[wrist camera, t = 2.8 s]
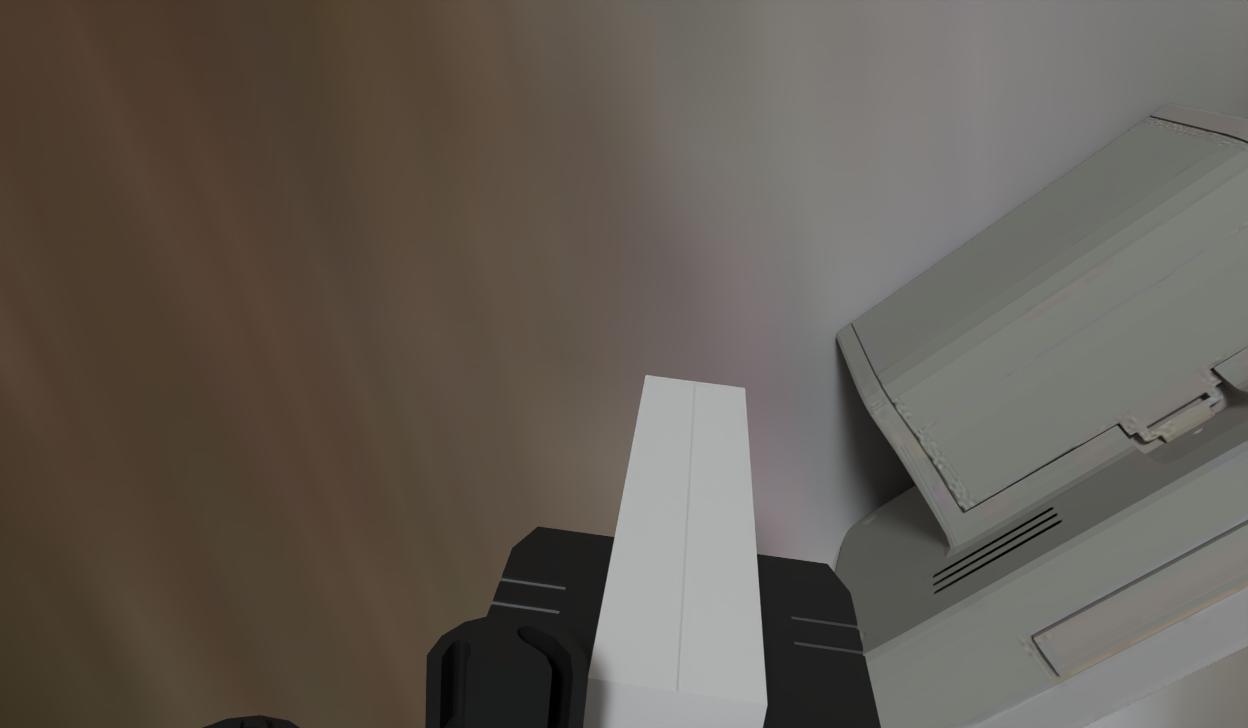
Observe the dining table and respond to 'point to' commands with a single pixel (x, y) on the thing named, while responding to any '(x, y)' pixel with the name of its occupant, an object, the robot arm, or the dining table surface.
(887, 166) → the dining table surface
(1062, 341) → the digital clock
